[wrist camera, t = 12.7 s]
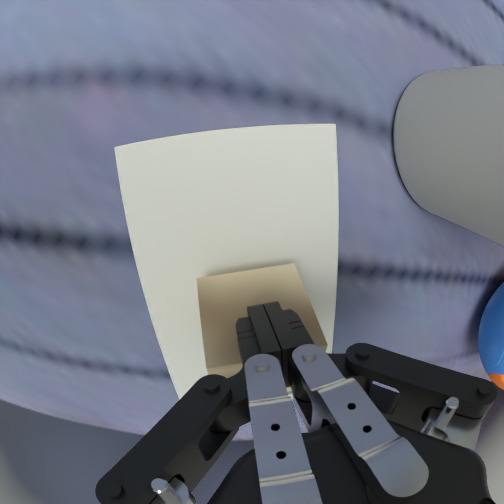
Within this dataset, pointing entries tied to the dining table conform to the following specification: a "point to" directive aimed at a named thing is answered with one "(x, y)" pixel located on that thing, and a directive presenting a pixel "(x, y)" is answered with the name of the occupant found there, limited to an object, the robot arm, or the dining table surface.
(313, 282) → the cream mat
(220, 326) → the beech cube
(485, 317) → the treat dispenser ball
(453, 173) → the cylinder vase
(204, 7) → the dining table surface
